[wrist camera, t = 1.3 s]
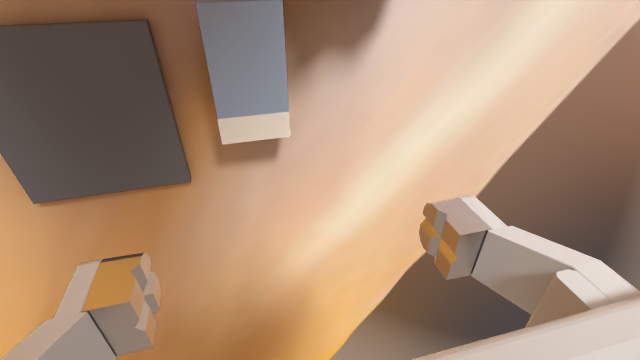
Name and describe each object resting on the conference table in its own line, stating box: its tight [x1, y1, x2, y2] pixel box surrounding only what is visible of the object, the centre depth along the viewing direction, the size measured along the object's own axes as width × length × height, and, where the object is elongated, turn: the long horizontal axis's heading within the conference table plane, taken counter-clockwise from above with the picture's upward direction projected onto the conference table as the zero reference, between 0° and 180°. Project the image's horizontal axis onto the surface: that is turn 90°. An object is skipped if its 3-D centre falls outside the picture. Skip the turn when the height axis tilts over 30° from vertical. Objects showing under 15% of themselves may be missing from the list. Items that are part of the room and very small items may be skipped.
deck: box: [195, 0, 291, 145], centre depth 28 cm, size 11×6×4 cm, turn 2°
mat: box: [0, 19, 191, 204], centre depth 28 cm, size 15×14×1 cm
